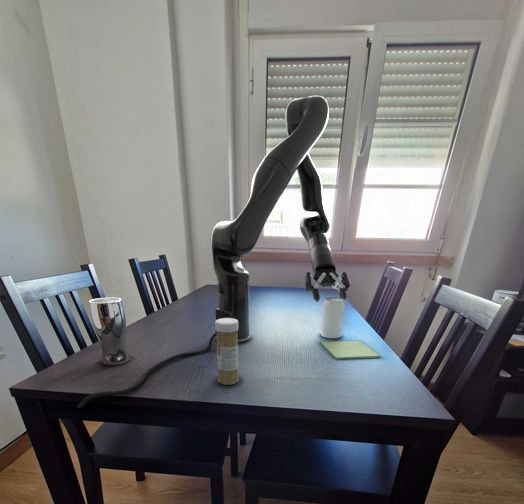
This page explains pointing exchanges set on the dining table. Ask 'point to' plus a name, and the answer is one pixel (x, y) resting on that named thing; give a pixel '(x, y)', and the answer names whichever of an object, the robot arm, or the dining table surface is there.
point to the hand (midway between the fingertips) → (330, 300)
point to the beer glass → (110, 329)
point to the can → (332, 317)
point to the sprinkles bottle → (227, 350)
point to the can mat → (349, 350)
